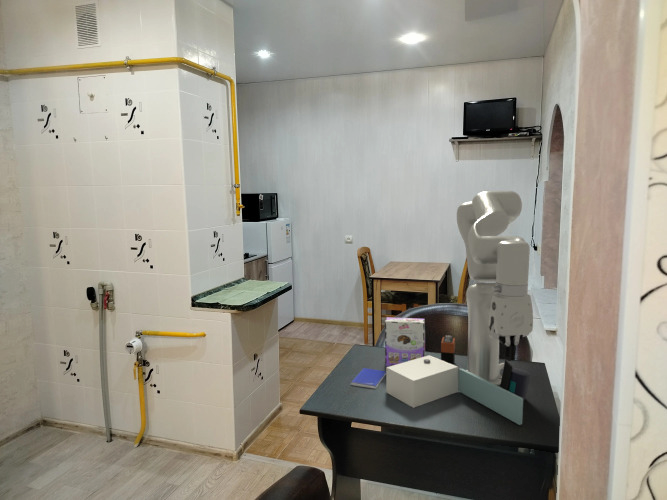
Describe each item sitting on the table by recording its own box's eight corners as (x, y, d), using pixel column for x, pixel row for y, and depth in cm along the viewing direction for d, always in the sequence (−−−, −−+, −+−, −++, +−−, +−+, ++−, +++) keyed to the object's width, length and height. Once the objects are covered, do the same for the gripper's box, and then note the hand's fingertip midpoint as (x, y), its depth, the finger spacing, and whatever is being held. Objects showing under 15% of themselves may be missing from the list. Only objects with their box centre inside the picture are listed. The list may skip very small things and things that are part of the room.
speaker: (497, 399, 132) (502, 365, 130) (498, 392, 137) (503, 359, 136) (525, 406, 129) (531, 371, 128) (525, 398, 134) (530, 365, 133)
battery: (454, 362, 162) (455, 335, 160) (453, 369, 155) (454, 341, 154) (442, 360, 163) (442, 334, 162) (440, 367, 157) (440, 340, 155)
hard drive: (375, 385, 141) (386, 371, 152) (350, 381, 144) (363, 367, 155) (375, 390, 141) (386, 375, 152) (350, 386, 144) (363, 372, 155)
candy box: (424, 362, 161) (425, 318, 159) (424, 369, 156) (424, 322, 154) (386, 360, 165) (386, 316, 163) (384, 366, 159) (384, 320, 157)
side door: (457, 390, 137) (457, 368, 137) (461, 389, 138) (462, 367, 137) (519, 425, 116) (520, 399, 116) (524, 423, 117) (525, 397, 116)
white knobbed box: (431, 377, 148) (432, 352, 147) (460, 390, 138) (460, 364, 137) (386, 392, 138) (386, 365, 137) (413, 407, 128) (413, 378, 127)
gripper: (493, 295, 108) (490, 367, 111) (547, 290, 111) (543, 361, 114) (476, 288, 115) (474, 356, 118) (528, 284, 119) (524, 350, 122)
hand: (508, 358), depth 116 cm, fingers closed
